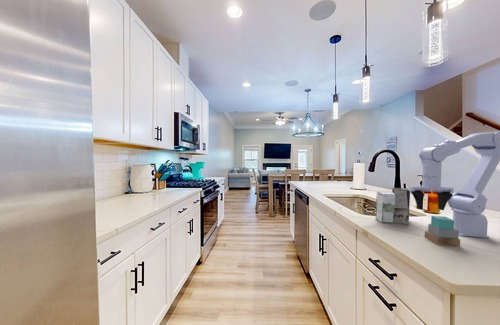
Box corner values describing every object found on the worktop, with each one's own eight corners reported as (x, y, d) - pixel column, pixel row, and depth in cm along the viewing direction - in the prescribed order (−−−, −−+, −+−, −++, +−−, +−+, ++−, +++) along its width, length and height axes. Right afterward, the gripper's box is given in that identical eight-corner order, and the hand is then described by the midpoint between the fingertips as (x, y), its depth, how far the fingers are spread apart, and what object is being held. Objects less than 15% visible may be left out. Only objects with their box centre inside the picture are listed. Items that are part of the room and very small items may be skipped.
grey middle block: (446, 232, 78) (446, 225, 78) (458, 238, 72) (458, 230, 72) (428, 231, 79) (428, 223, 79) (438, 237, 73) (439, 229, 73)
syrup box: (387, 219, 102) (388, 191, 102) (394, 223, 96) (395, 193, 96) (375, 219, 103) (376, 191, 102) (381, 222, 97) (382, 193, 96)
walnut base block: (445, 239, 78) (445, 232, 78) (459, 247, 72) (460, 239, 72) (424, 237, 80) (424, 230, 80) (436, 245, 73) (437, 237, 73)
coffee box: (409, 224, 94) (410, 190, 94) (392, 222, 98) (393, 189, 97) (406, 219, 102) (407, 188, 102) (390, 217, 106) (391, 187, 105)
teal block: (445, 225, 77) (445, 216, 77) (453, 229, 73) (453, 220, 73) (431, 224, 78) (431, 215, 78) (438, 228, 74) (438, 219, 74)
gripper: (417, 176, 80) (416, 210, 81) (460, 178, 77) (458, 212, 78) (407, 175, 87) (406, 206, 88) (446, 176, 84) (445, 208, 85)
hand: (430, 209), depth 83 cm, fingers open, 7 cm apart
